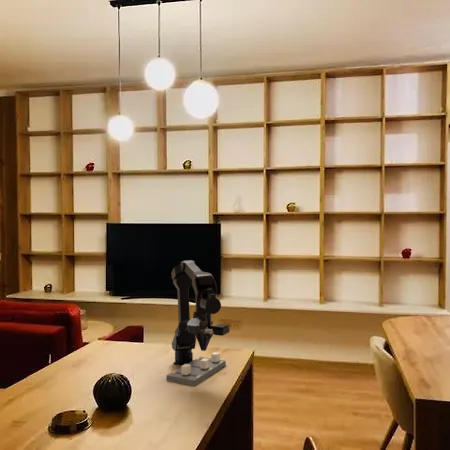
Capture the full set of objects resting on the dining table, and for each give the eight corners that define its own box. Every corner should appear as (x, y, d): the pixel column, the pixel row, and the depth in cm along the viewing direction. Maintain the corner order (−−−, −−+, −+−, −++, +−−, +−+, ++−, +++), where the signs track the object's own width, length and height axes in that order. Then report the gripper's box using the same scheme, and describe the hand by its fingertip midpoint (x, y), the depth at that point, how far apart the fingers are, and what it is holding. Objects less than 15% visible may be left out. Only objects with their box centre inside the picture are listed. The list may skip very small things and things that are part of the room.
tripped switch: (181, 374, 182) (181, 366, 182) (185, 371, 185) (185, 363, 185) (186, 375, 181) (186, 367, 181) (190, 372, 184) (190, 364, 184)
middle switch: (200, 368, 189) (200, 360, 189) (204, 365, 192) (204, 358, 192) (205, 369, 188) (205, 361, 188) (209, 366, 191) (209, 359, 191)
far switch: (211, 361, 197) (211, 354, 197) (214, 359, 200) (214, 352, 200) (216, 362, 196) (216, 354, 196) (220, 360, 199) (220, 352, 199)
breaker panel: (166, 380, 182) (166, 375, 182) (200, 361, 205) (199, 356, 205) (194, 385, 177) (194, 380, 177) (225, 365, 199) (225, 360, 199)
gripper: (169, 310, 176) (170, 353, 176) (215, 315, 167) (215, 360, 168) (185, 304, 186) (186, 345, 186) (230, 309, 177) (230, 351, 178)
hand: (203, 350), depth 179 cm, fingers closed
